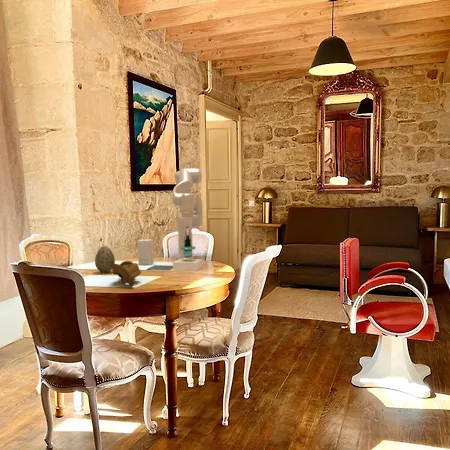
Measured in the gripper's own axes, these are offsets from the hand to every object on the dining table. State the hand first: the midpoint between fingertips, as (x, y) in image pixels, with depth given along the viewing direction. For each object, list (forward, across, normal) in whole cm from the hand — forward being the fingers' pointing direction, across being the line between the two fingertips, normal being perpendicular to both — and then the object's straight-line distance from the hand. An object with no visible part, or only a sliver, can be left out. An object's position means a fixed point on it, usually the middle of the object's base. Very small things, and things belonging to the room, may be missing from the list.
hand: (187, 245), depth 253 cm
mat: (+14, -4, -15) cm, 21 cm away
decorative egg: (+14, +8, -46) cm, 49 cm away
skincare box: (+14, -20, -27) cm, 36 cm away
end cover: (+7, 0, 0) cm, 7 cm away
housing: (+14, 0, 0) cm, 14 cm away
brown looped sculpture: (+14, +38, -30) cm, 51 cm away
